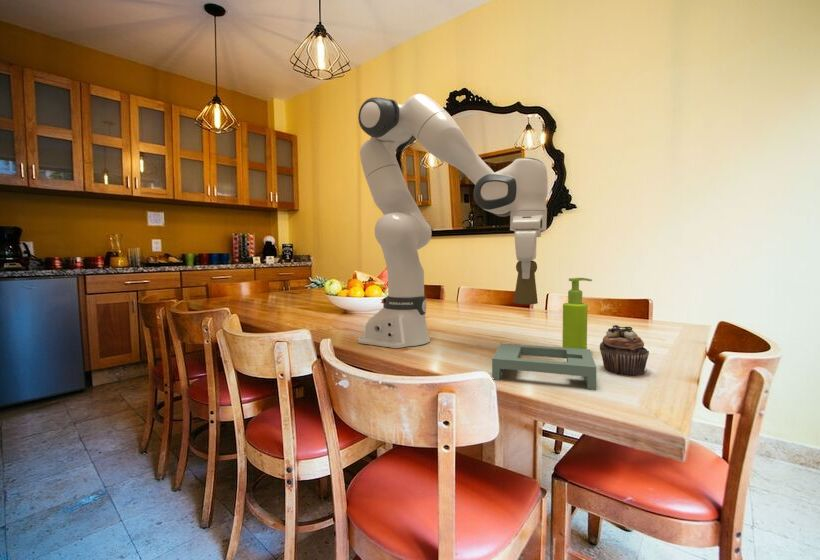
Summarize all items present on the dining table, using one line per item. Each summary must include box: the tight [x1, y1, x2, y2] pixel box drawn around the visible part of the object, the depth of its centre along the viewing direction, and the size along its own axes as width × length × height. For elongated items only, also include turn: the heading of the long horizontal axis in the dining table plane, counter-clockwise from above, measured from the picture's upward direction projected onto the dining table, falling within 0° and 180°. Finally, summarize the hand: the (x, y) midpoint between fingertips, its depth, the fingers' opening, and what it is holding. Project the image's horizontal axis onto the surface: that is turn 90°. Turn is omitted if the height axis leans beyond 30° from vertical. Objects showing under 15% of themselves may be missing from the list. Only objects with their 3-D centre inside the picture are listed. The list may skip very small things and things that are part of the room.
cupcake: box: [599, 324, 650, 377], centre depth 84 cm, size 10×10×10 cm
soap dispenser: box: [562, 277, 593, 349], centre depth 98 cm, size 6×7×20 cm
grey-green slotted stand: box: [491, 342, 597, 391], centre depth 83 cm, size 20×14×4 cm
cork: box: [513, 260, 539, 305], centre depth 96 cm, size 6×6×11 cm
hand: (526, 278), depth 96 cm, fingers closed on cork, 4 cm apart
